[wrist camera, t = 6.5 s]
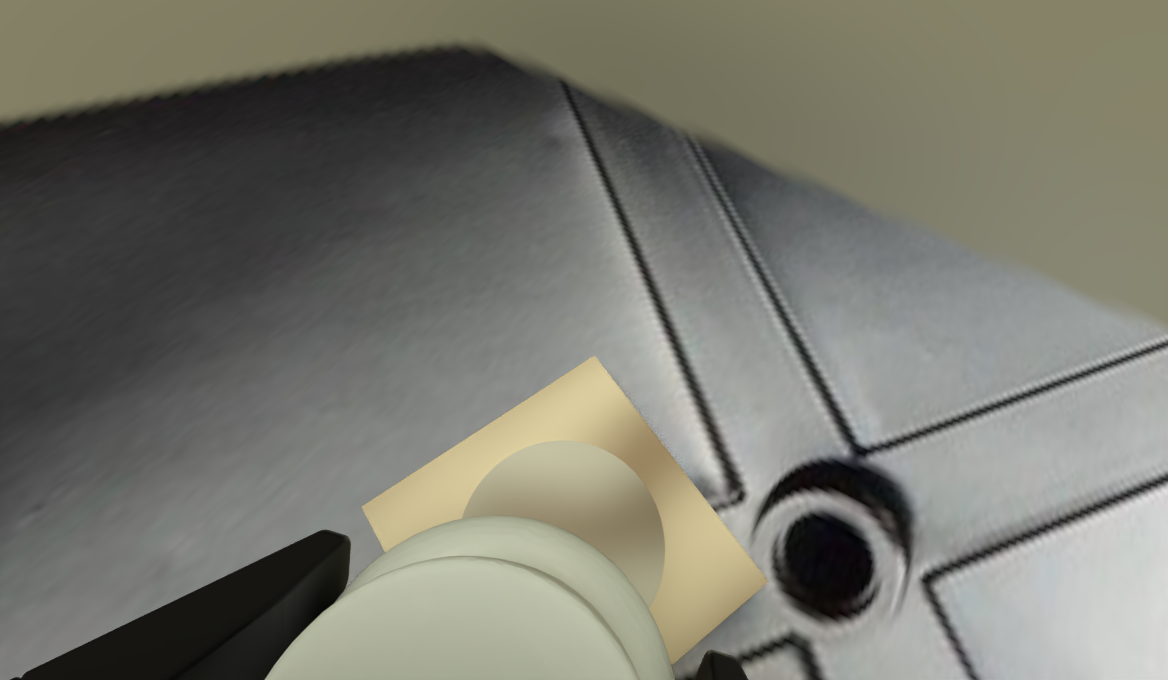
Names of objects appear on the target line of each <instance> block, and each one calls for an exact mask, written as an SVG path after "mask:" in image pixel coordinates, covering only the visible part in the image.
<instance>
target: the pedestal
mask: <svg viewBox="0 0 1168 680" xmlns="http://www.w3.org/2000/svg"><path fill="white" fill-rule="evenodd" d="M362 509H363V511H364V513H365V515H366V517H367V519H368V520H369V522H370V524H371V526H372V528H373V530H374V532H375V534H376V536H377V537H378V539H379V541H380V543H381V545H382V547H383V549H384V551H385V553H386V552H387V551H388V550H390V549H391V548H393V547H394V546H396V545H398V544H400V543H401V542H403V541H405V540H406V539H408V538H410V537H412V536H413V535H415V534H418V533H420V532H422V531H425V530H427V529H429V528H431V527H434V526H437V525H440V524H443V523H447V522H450V521H453V520H458V519H463V518H468V517H475V516H485V515H507V516H518V517H524V518H532V519H536V520H539V521H542V522H545V523H548V524H551V525H554V526H557V527H560V528H563V529H565V530H567V531H569V532H571V533H573V534H575V535H576V536H578V537H580V538H581V539H582V540H584V541H585V542H587V543H588V544H590V545H592V546H593V547H595V548H596V549H598V550H599V551H600V552H602V553H603V554H604V555H605V556H606V557H607V558H608V559H610V560H611V561H612V562H614V563H615V564H616V565H617V566H618V567H619V568H620V569H621V571H622V572H623V573H624V574H625V575H626V577H627V578H628V579H629V581H630V582H631V583H632V584H633V586H634V587H635V588H636V590H637V591H638V592H639V594H640V595H641V597H642V598H643V600H644V601H645V603H646V605H647V607H648V608H649V610H650V612H651V614H652V616H653V618H654V619H655V622H656V624H657V626H658V628H659V631H660V633H661V635H662V638H663V641H664V644H665V647H666V649H667V652H668V656H669V659H670V662H671V665H673V664H674V663H675V662H676V661H677V660H679V659H680V658H681V657H682V656H683V655H684V654H685V653H687V652H688V651H689V650H690V649H691V648H692V647H694V646H695V645H696V644H697V643H698V642H699V641H700V640H702V639H703V638H704V637H705V636H706V635H707V634H709V633H710V632H711V631H712V630H713V629H714V628H715V627H717V626H718V625H719V624H720V623H721V622H722V621H724V620H725V619H726V618H727V617H728V616H729V615H730V614H732V613H733V612H734V611H735V610H736V609H737V608H739V607H740V606H741V605H742V604H743V603H744V602H745V601H747V600H748V599H749V598H750V597H751V596H752V595H754V594H755V593H756V592H757V591H758V590H759V589H760V588H762V587H763V586H764V585H765V584H766V583H767V582H768V580H767V579H766V578H765V576H764V575H763V574H762V572H761V571H760V570H759V569H758V567H757V566H756V565H755V563H754V562H753V561H752V559H751V558H750V557H749V556H748V554H747V553H746V552H745V550H744V549H743V548H742V546H741V545H740V544H739V543H738V541H737V540H736V539H735V537H734V536H733V535H732V533H731V532H730V531H729V530H728V528H727V527H726V526H725V524H724V523H723V522H722V520H721V519H720V518H719V517H718V515H717V514H716V513H715V511H714V510H713V509H712V508H711V506H710V505H709V504H708V502H707V501H706V500H705V498H704V497H703V496H702V495H701V493H700V492H699V491H698V489H697V488H696V487H695V485H694V484H693V483H692V482H691V480H690V479H689V478H688V476H687V475H686V474H685V472H684V471H683V470H682V469H681V467H680V466H679V465H678V463H677V462H676V461H675V459H674V458H673V457H672V456H671V454H670V453H669V452H668V450H667V449H666V448H665V447H664V445H663V444H662V443H661V441H660V440H659V439H658V437H657V436H656V435H655V434H654V432H653V431H652V430H651V428H650V427H649V426H648V424H647V423H646V422H645V421H644V419H643V418H642V417H641V415H640V414H639V413H638V411H637V410H636V409H635V408H634V406H633V405H632V404H631V402H630V401H629V400H628V398H627V397H626V396H625V395H624V393H623V392H622V391H621V389H620V388H619V387H618V386H617V384H616V383H615V382H614V380H613V379H612V378H611V376H610V375H609V374H608V373H607V371H606V370H605V369H604V367H603V366H602V365H601V363H600V362H599V361H598V360H597V358H596V357H595V356H593V357H591V358H590V359H588V360H587V361H585V362H584V363H582V364H581V365H579V366H578V367H576V368H575V369H573V370H571V371H570V372H568V373H567V374H565V375H564V376H562V377H561V378H559V379H558V380H556V381H555V382H553V383H551V384H550V385H548V386H547V387H545V388H544V389H542V390H541V391H539V392H538V393H536V394H534V395H533V396H531V397H530V398H528V399H527V400H525V401H524V402H522V403H521V404H519V405H518V406H516V407H514V408H513V409H511V410H510V411H508V412H507V413H505V414H504V415H502V416H501V417H499V418H498V419H496V420H494V421H493V422H491V423H490V424H488V425H487V426H485V427H484V428H482V429H481V430H479V431H478V432H476V433H474V434H473V435H471V436H470V437H468V438H467V439H465V440H464V441H462V442H461V443H459V444H457V445H456V446H454V447H453V448H451V449H450V450H448V451H447V452H445V453H444V454H442V455H441V456H439V457H437V458H436V459H434V460H433V461H431V462H430V463H428V464H427V465H425V466H424V467H422V468H421V469H419V470H417V471H416V472H414V473H413V474H411V475H410V476H408V477H407V478H405V479H404V480H402V481H401V482H399V483H397V484H396V485H394V486H393V487H391V488H390V489H388V490H387V491H385V492H384V493H382V494H380V495H379V496H377V497H376V498H374V499H373V500H371V501H370V502H368V503H367V504H365V505H364V506H362Z"/></svg>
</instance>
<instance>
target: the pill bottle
mask: <svg viewBox="0 0 1168 680" xmlns="http://www.w3.org/2000/svg"><path fill="white" fill-rule="evenodd" d="M265 680H675V676H674V673H673V669H672V665H671V662H670V659H669V656H668V652H667V649H666V647H665V644H664V641H663V638H662V635H661V633H660V631H659V628H658V626H657V624H656V622H655V619H654V618H653V616H652V614H651V612H650V610H649V608H648V607H647V605H646V603H645V601H644V600H643V598H642V597H641V595H640V594H639V592H638V591H637V590H636V588H635V587H634V586H633V584H632V583H631V582H630V581H629V579H628V578H627V577H626V575H625V574H624V573H623V572H622V571H621V569H620V568H619V567H618V566H617V565H616V564H615V563H614V562H612V561H611V560H610V559H608V558H607V557H606V556H605V555H604V554H603V553H602V552H600V551H599V550H598V549H596V548H595V547H593V546H592V545H590V544H588V543H587V542H585V541H584V540H582V539H581V538H580V537H578V536H576V535H575V534H573V533H571V532H569V531H567V530H565V529H563V528H560V527H557V526H554V525H551V524H548V523H545V522H542V521H539V520H536V519H532V518H524V517H518V516H507V515H485V516H475V517H468V518H463V519H458V520H453V521H450V522H447V523H443V524H440V525H437V526H434V527H431V528H429V529H427V530H425V531H422V532H420V533H418V534H415V535H413V536H412V537H410V538H408V539H406V540H405V541H403V542H401V543H400V544H398V545H396V546H394V547H393V548H391V549H390V550H388V551H387V552H386V553H384V554H383V555H381V556H380V557H379V558H377V559H376V560H375V561H374V562H372V563H371V564H370V565H369V566H368V567H367V568H365V569H364V570H363V571H362V572H361V573H360V574H359V575H358V576H357V577H356V578H355V579H354V580H353V581H352V582H351V583H350V584H349V586H348V587H347V588H346V589H345V590H344V591H343V593H342V594H341V595H340V596H339V597H338V599H337V600H336V601H335V603H334V604H333V605H331V606H330V607H329V608H327V609H326V610H325V611H323V612H322V613H321V614H320V615H319V616H318V617H317V618H316V619H315V620H314V621H313V622H312V623H311V624H310V625H309V626H308V627H307V628H306V629H305V630H304V631H303V632H302V633H301V634H300V635H299V636H298V637H297V638H296V639H295V640H294V641H293V642H292V643H291V644H290V646H289V647H288V648H287V650H286V651H285V652H284V653H283V655H282V656H281V657H280V658H279V660H278V661H277V662H276V664H275V665H274V666H273V668H272V669H271V671H270V672H269V674H268V675H267V677H266V678H265Z"/></svg>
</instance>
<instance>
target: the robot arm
mask: <svg viewBox="0 0 1168 680" xmlns="http://www.w3.org/2000/svg"><path fill="white" fill-rule="evenodd" d="M350 549H351V541H350V539H349V537H347V536H346V535H343V534H340V533H337V532H333V531H330V530H321V531H318V532H316V533H314V534H312V535H310V536H308V537H306V538H304V539H302V540H300V541H297V542H295V543H293V544H291V545H289V546H287V547H285V548H283V549H281V550H279V551H277V552H275V553H273V554H271V555H268V556H266V557H264V558H262V559H260V560H258V561H256V562H254V563H252V564H250V565H248V566H246V567H244V568H241V569H239V570H237V571H235V572H233V573H231V574H229V575H227V576H225V577H223V578H221V579H219V580H217V581H214V582H212V583H210V584H208V585H206V586H204V587H202V588H200V589H198V590H196V591H194V592H192V593H190V594H187V595H185V596H183V597H181V598H179V599H177V600H175V601H173V602H171V603H169V604H167V605H165V606H163V607H160V608H158V609H156V610H154V611H152V612H150V613H148V614H146V615H144V616H142V617H140V618H138V619H136V620H133V621H131V622H129V623H127V624H125V625H123V626H121V627H119V628H117V629H115V630H113V631H111V632H109V633H107V634H104V635H102V636H100V637H98V638H96V639H94V640H92V641H90V642H88V643H86V644H84V645H82V646H80V647H77V648H75V649H73V650H71V651H69V652H67V653H65V654H63V655H61V656H59V657H57V658H55V659H53V660H50V661H48V662H46V663H44V664H42V665H40V666H38V667H36V668H34V669H32V670H30V671H28V672H26V673H25V674H24V675H23V676H22V678H19V677H15V678H13V679H11V680H265V678H266V677H267V675H268V674H269V672H270V671H271V669H272V668H273V666H274V665H275V664H276V662H277V661H278V660H279V658H280V657H281V656H282V655H283V653H284V652H285V651H286V650H287V648H288V647H289V646H290V644H291V643H292V642H293V641H294V640H295V639H296V638H297V637H298V636H299V635H300V634H301V633H302V632H303V631H304V630H305V629H306V628H307V627H308V626H309V625H310V624H311V623H312V622H313V621H314V620H315V619H316V618H317V617H318V616H319V615H320V614H321V613H322V612H323V611H325V610H326V609H327V608H329V607H330V606H331V605H333V604H334V603H335V601H336V600H337V599H338V597H339V596H340V595H341V594H342V593H343V591H344V589H345V587H346V584H347V581H348V577H349V563H350ZM694 680H748V678H747V676H746V674H745V672H744V670H743V669H742V667H741V665H740V663H739V661H738V660H737V659H736V658H735V657H733V656H730V655H727V654H724V653H721V652H717V651H714V650H709V651H707V652H706V653H705V655H704V657H703V659H702V662H701V664H700V667H699V669H698V671H697V674H696V676H695V679H694Z"/></svg>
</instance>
